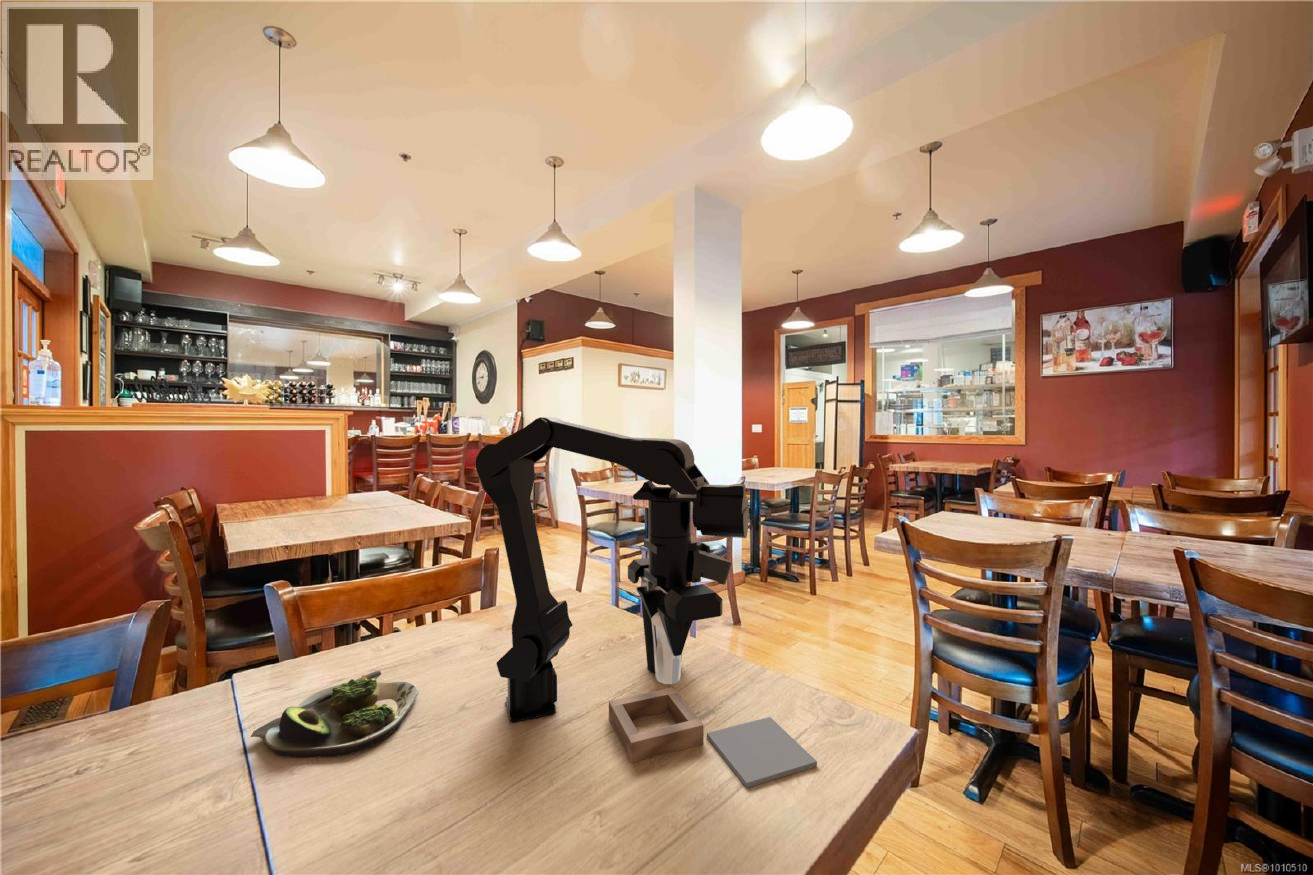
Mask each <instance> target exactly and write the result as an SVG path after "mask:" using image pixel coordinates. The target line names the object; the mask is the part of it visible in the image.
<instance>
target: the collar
mask: <svg viewBox="0 0 1313 875" xmlns="http://www.w3.org/2000/svg"><path fill="white" fill-rule="evenodd" d="M666 712H668V714H669V715H670V716H671V718H672V719H673V721H674V722H675V724H671V725H666V726H663V727H659V728H653V729H651V730H646V731H642V732H641V731H640V732H639V731H638V729H637V728H636V726H635V724H634V722H633V721H632V720H636V719H640V718H644V717H648V716H649V717H650V716H654V715H656V714H657V715H658V714H661V713H666ZM608 720H609V721H610V724H611V725H612V728H613V729H614V732H615V733H616V735H617V737H618V739H619V740H620V741H619V742H621V745H622V747H623V749H624V751H625V752H626V755H627V756H628V759H629V761H630V763H635V762H639V761H642V760H646V759H650V758H653V757H658V756H662V755H666V754H670V753H673V752H677V751H681V750H685V749H688V748H692V747H696V746H699V745H703V744H704V737H705V736H704V725H705V724H703V723H702V721H701V720H700V719H699V717H698V716H697V715H696V714H695V712H694V711H693V710H692V708H690V706H689V705H688V704H687V702H686V701H685V700H684V699H683V698H682V696H681V694H679V693H678V691H677V690H676V689H675V688H674V687H669V688H663V689H659V690H655V691H650V692H645V693H641V694H640V693H639V694H635V695H631V696H626V697H622V698H617V699H613V700H608Z"/></svg>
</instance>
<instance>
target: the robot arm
mask: <svg viewBox="0 0 1313 875" xmlns="http://www.w3.org/2000/svg"><path fill="white" fill-rule="evenodd" d="M552 449H558V450H563V451H566V452H571V453H574V454H579V455H583V456H586V457H590V458H593V459H598V460H602V461H605V462H610V463H613V464H618V465H619V466H622V467H623V468H626V469H627V470H629V471H630V472H632V473H633V474H635V475H637V476H639V477H640V478H643V479H645V480H646V481H645V482H643V484H642V486H641V487H640V489H639V490H637V491H636V492H635V493H633V494H632V498H633V500H637V501H648V502H647V503H648V504H647V505H648V510H647V511H648V538H643V547H645V548H646V549H647V550H648V557H644V558H636V559H632V561H631V562H630V563H629V564H628V565H627V579H628V580H629V581H630V582H631V583H632V584H638V582H639V580H640V579H641V586H638V587H636V592H637V593H638V595H639V597H640V599H642V601H643V604H644V606H645V608H646V610H647V612H648V615H649V617H650V619H652V617H653V616H654V615H655V614H656V613H657V612H659V615H660V619H661V621H662V624H663V627H664V630H665V633H666V637H667V640H668V643H669V646H670V648H671V651H672V654H673V655H674V656H679V655H681V654H682V655H683V651H684V648H685V645H686V642H687V638H688V636H689V633H690V630H691V626H692V624H693V622H694V621H699V620H700V621H702V620H705V619H706V620H707V619H712V618H718V617H721V616H722V615H723V598H722V597H721V596H720V595H719V594H718V593H717V591H714V590H713V589H711V588H710V587H708V586H707V585H705V584H703V583H702V584H695V583H700V582H702V578H703V579H708V580H711V581H714V582H718V584H720V585H726V583H727V579H728V578H729V574H730V571H731V567H732V564H733V562H732V561H730V560H728V559H726V558H724V557H723V556H721V555H717V554H715V553H713V552H711V549H710V545H708V544H707V543H705V542H702V541H697V540H692V524H693V527H694V528H696V531H700V533H701V535H702V536H707V537H723V538H739V539H740V538H741V539H747V537H748V532H749V523H750V522H749V521H750V520H749V515H750V513H749V512H750V507H749V506H748V501H747V500H748V499H747V494H746V484H745V483H734V484H727V485H724V484H710V483H709V480H708V479H707V478H706V477H705V475H704V474H703V473H702V471H701V470H700V468H699V467H698V466H697V465H696V464H695V455H694V451H693V449H692V448H691V447H690V445H689V444H688V443H687V442H685V441H683V440H681V439H678V438H677V439H676V438H674V439H673V438H659V437H658V438H655V437H653V438H652V437H631V436H627V435H624V434H623V435H622V434H619V433H614V432H611V431H606V430H601V429H599V428H594V427H589V426H585V425H580V424H577V423H572V422H569V421H564V420H562V419H560V418H558V417H538V418H535V419H534V420H533V421H532V422H530V423H529V424H527V425H526V426H525V427H522V428H521V429H520V430H517V431H516V432H514V433H511V434H510V435H508V436H506V437H503V438H502V439H500V440H499V441H498V442H496V443H488V444H486V445H484V446H483V447H482V448H481V449H480V450H479V452H478V454H477V455H476V457H475V461H474V465H475V466H474V467H475V471H476V474H477V476H478V480H479V481H480V484H481V486H482V490H483V491H484V493H486V495H487V496H488V497H489V499H490V500H491V501H492V502H493V503H494V504H495V507H496V509H497V513H498V514H497V515H498V520H499V523H500V528H501V533H502V537H503V538H502V539H503V542H504V543H503V544H504V547H505V553H506V557H507V561H508V567H509V572H510V577H511V582H512V586H513V587H512V588H513V591H514V597H515V600H516V601H515V602H516V604H515V605H516V606H515V609H514V614H513V618H512V621H511V643H512V646H511V648H510V649H509V650H508V651H506V653H505V654H503V656H502V657H500V658H499V660H497V661H496V667H497V671H498V674H499V676H500V678H505V679H507V696H506V697H505V701H506V702H505V703H506V708H507V715H508V719H509V722H510V723H516V722H520V721H525V720H528V719H534V718H539V717H543V716H549V715H553V714H556V712H557V708H556V705H555V704H556V703H557V701H558V674H557V671H556V669H555V668H554V664H553V662H552V659H554V658H555V657H557V656H558V654H559V652H560V649H562V648H563V647H564V646H565V645H566V643H567V641H568V639H569V638H570V635H571V634H570V631H571V627H573V626H574V624H573V622H572V621H571V619H570V617H569V611H568V610H569V608H568V606H569V605H568V603H567V600H565V599H564V600H561V601H558V600H556V598H555V597H554V595H553V594H552V593H551V591H550V588H549V587H550V586H549V582H548V578H547V573H546V569H545V564H544V563H545V562H544V559H543V554H542V548H541V544H540V539H539V534H538V530H537V529H538V528H537V524H536V520H535V515H534V510H533V505H532V501H531V500H532V499H531V497H532V493H533V487H534V483H535V479H536V474H535V464H536V463H538V462H539V461H541V460H542V459H543V458H545V457H546V456H547V455H548V453H549V452H550V451H552ZM657 485H658V486H657ZM668 486H669V487H668ZM689 583H693V585H689ZM642 601H641V602H642Z"/></svg>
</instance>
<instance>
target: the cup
mask: <svg viewBox="0 0 1313 875" xmlns="http://www.w3.org/2000/svg"><path fill="white" fill-rule="evenodd" d="M640 599H641V598H640ZM641 608H642V609H641V610H642V621H643V622H642V623H643V631H644V633H643V634H644V644H645V653H646V664H647V666H646V667H647V670H648V671H649V672H650V673H651V674H654V675H656V673H655V658H654V642H653V631H652V621H651V619H650V617H649V615H648V612H647V610H646V608H645V606H644V604H643V601H642V599H641Z"/></svg>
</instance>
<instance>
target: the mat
mask: <svg viewBox="0 0 1313 875" xmlns="http://www.w3.org/2000/svg"><path fill="white" fill-rule="evenodd" d="M706 738H707V739H708V741H709V742H710V744H712V746H713V747H714V748H715V750H716V751H717V752H718V754H719V755H720V756H721V758H722V759H723V760H724V761H725V762H726V764H727V765H728V766H729V768H731V770H732V772H733V773H735V775H736V776H737V777H738V779H739V780H740V781H741V783H742V784H743V785H744V786H745V788H746V789H748V788H752V787H755V786H758V785H761V784H763V783H767V782H770V781H771V782H772V781H774V780H777V779H780V778H784V777H786V776H790V775H792V774H796V773H799V772H802V771H805V770H809V769H812V768H816V767H818V761H817V760H816V759H815V758H814V757H813V756H812V755H811V753H809V752H808V751H807V750H806V749H805V748H804V747H803V746H802V745H800V744H799V743H798V741H796V740H795V739H794V738H793V737H792V736H791V735H790V734H789V733H788V732H787V731H786V730H785V729H784V728H782V727H781V726H780V725H779V723H777V721H775V720H774V719H773V718H772V717H771V716H769V717H764V718H761V719H757V720H753V721H748V722H745V723H740V724H737V725H733V726H729V727H725V728H720V729H717V730H714V731H709V732H706Z"/></svg>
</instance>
